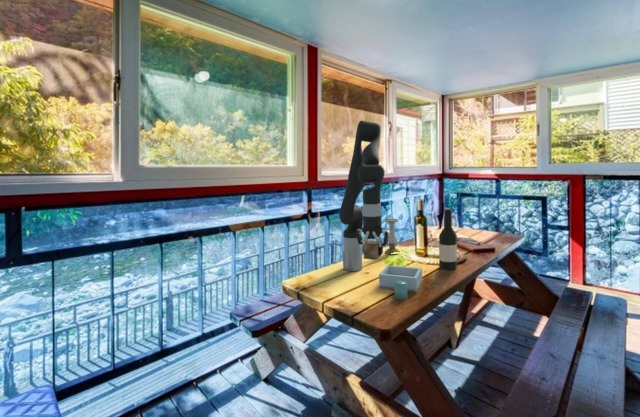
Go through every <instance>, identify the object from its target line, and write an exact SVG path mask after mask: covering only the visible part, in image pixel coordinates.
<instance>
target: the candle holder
mask: <svg viewBox="0 0 640 417" xmlns="http://www.w3.org/2000/svg"><path fill="white" fill-rule="evenodd" d="M384 222H385V223H387V224H388V231H389V237H388V243H387V245H388V248H386V250H385V251H384V254H386V255H389V254H391V253H393V252H400V253H401V251H400V250H399V249H398V248H396V247H397V240H398V239H397V237H396V234H395V229H396V227H395V225H396V223H398V222H399V219H397V218H386V219H385V221H384ZM389 256H390V255H389Z"/></svg>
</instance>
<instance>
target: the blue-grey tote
mask: <svg viewBox="0 0 640 417" xmlns="http://www.w3.org/2000/svg"><path fill="white" fill-rule="evenodd" d="M395 281H406V282H407V292H413V293H417V292H418V291H419V288H420V286H421V284H422V282H423V268H422V267H411V266H399V265H389V264H388V265H386V266H385V267H384V268H383V269H382V270H381V271H380V272H379V274H378V282H379V283H378V287H379V289H387V290H395Z"/></svg>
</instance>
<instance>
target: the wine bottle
mask: <svg viewBox="0 0 640 417" xmlns="http://www.w3.org/2000/svg"><path fill="white" fill-rule="evenodd" d="M443 212H444V213H443V214H444V217H443V218H444V223H443V224H444V225H443V226H444V227H443V229H442V230H441V232H440V233H439V235H438V240H439V241H438V242H439V243H438V247H439V248H438V254H439V255H438V257H439V258H438V259H439V260H438V262H439V263H438V265H439V269H440V270H444V271H456V270H457V268H458V265H457V264H458V261H457V260H458V255H457V254H458V250H457V249H458V240H457V239H458V235H457V233H456V232H455V230H454V229H453V227H452V225H453V224H452V221H453V219H452V214H453V213H452V212H453V211H452V209H451V208H445V210H444V211H443Z"/></svg>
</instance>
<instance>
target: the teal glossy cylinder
mask: <svg viewBox="0 0 640 417" xmlns="http://www.w3.org/2000/svg"><path fill="white" fill-rule="evenodd" d="M394 298H395V299H397V300H406V299H408V291H407V282H406V281H395V289H394Z"/></svg>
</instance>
